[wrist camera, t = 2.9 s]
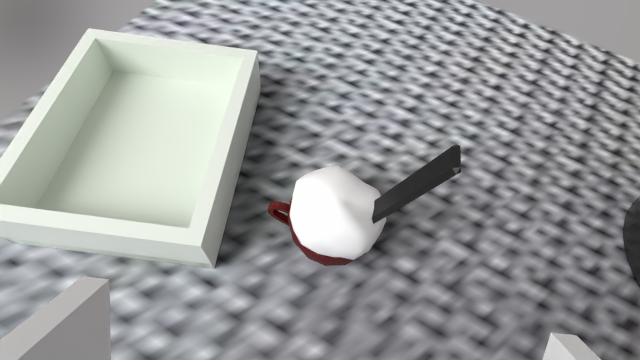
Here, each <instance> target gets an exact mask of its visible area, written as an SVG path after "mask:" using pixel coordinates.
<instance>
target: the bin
mask: <svg viewBox="0 0 640 360" xmlns="http://www.w3.org/2000/svg"><path fill="white" fill-rule="evenodd" d="M260 93H261V83H260V73H259V62H258V52H257V51H254V50H246V49H239V48H231V47H224V46H216V45H209V44H201V43H194V42H186V41H179V40H171V39H164V38H156V37H149V36H141V35H134V34H126V33H119V32H111V31H103V30H97V29H88V30H87V31H86V33H85V34H84V35H83V37H82V38H81V40H80V41H79V43H78V44H77V46H76V47H75V49H74V50H73V52H72V53H71V55H70V56H69V58H68V59H67V61H66V62H65V64H64V65H63V67H62V68H61V70H60V71H59V73H58V74H57V75H56V77H55V78H54V80H53V81H52V83H51V84H50V86H49V87H48V89H47V90H46V92H45V93H44V95H43V96H42V98H41V99H40V101H39V102H38V104H37V105H36V107H35V108H34V110H33V111H32V113H31V114H30V116H29V117H28V118H27V120H26V121H25V123H24V124H23V126H22V127H21V129H20V130H19V132H18V133H17V135H16V136H15V138H14V139H13V141H12V142H11V144H10V145H9V147H8V148H7V150H6V151H5V153H4V154H3V156H2V157H1V158H0V236H1V237H3V238H5V239H7V240H8V241H10V242H12V243H18V244H26V245H34V246H41V247H49V248H57V249H65V250H72V251H80V252H88V253H96V254H103V255H111V256H119V257H127V258H134V259H142V260H150V261H158V262H165V263H173V264H181V265H189V266H197V267H204V268H212V269H214V268H215V264H216V261H217V257H218V253H219V249H220V245H221V242H222V238H223V234H224V230H225V226H226V222H227V219H228V215H229V211H230V207H231V203H232V199H233V196H234V192H235V188H236V184H237V180H238V177H239V173H240V169H241V165H242V161H243V157H244V154H245V150H246V146H247V142H248V138H249V135H250V131H251V127H252V123H253V119H254V115H255V112H256V108H257V104H258V100H259V96H260Z"/></svg>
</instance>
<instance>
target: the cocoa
mask: <svg viewBox="0 0 640 360" xmlns="http://www.w3.org/2000/svg"><path fill="white" fill-rule="evenodd" d="M460 172H461V151H460V146H459V145H454V146H452V147H451V148H449V149H448V150H446V151H445V152H444V153H442V154H441V155H439V156H438V157H436V158H435V159H433V160H432V161H431V162H429V163H428V164H426V165H425V166H423V167H422V168H421V169H419V170H418V171H416V172H415V173H413V174H412V175H410V176H409V177H408V178H406V179H405V180H403V181H402V182H400V183H399V184H398V185H396V186H395V187H393V188H392V189H390V190H389V191H388V192H386V193H385V194H383V195H382V196H381V195H380V193H379V191H378V190H377V189H375V188H374V187H372V186H370V185H368V184H366V183H364V182H363V181H361V180H360V179H359V178H357V177H356V176H355V175H353V174H352V173H350V172H348V171H346V170H344V169H342V168H341V167H339V166H337V165H334V166H330V167H325V168H322V169H319V170H315V171H312V172H309V173H307V174H305V175H304V176H303V177H301V178H300V179H298V180H297V181H296V184H295V189H294V193H293V196H292V199H291V202H290V205H289V204H286V203H282V202H272V203H270V205H269V208H268V212H269V214H270V215H271V216H273V217H274V218H276V219H277V220H279V221H281V222H283V223H285V224H287V225H289V226H290V229H291V233H292V237H293V241H294V242H295V244H296V245H297V246H298V247H299V248H300V249H301V250H302V252H303V253H304V254H305V255H306V256H307V257H308V258H309V259H311V260H313V261H316V262H318V263H320V264H323V265H325V266H328V265H346V264H347V263H349V262H351V261H353V260H355V259H357V258H359V257H361V256H362V255H364V254H366V252H368V251H369V250H370V249H371V247H372V246H373V244H374V243H375V241H376V240H377V238H378V237H379V236H380V234H381V232H382V229H383V227H384V224H385V222H386V216H388V215H390V214H391V213H393V212H395V211H396V210H398V209H400V208H401V207H403V206H405V205H406V204H408V203H410V202H411V201H413V200H415V199H416V198H418V197H420V196H421V195H423V194H425V193H426V192H428V191H430V190H431V189H433V188H435V187H436V186H438V185H440V184H441V183H443V182H445V181H446V180H448V179H450V178H451V177H453V176H455V175H456V174H458V173H460ZM277 210H280V211H283V212H285V213H287V214H288V216H286V215H284V214H282V213H281V212H279V211H277Z"/></svg>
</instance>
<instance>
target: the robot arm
mask: <svg viewBox="0 0 640 360" xmlns="http://www.w3.org/2000/svg"><path fill="white" fill-rule="evenodd" d="M624 245H625V250H626V255H627V258H628V261H629V264H630V267H631V269H632V272H633V274H634V276H635V278H636V280H637V282H638V284H639V286H640V197H639V198H638V199H637V200H636V201H635V202H634V203H633V204H632V206H631V207H630V209H629V211H628V213H627V216H626V219H625V223H624ZM110 359H111V346H110V295H109V279H101V278H92V277H84V276H83V277H81V278H80V279H79V280H78V281H76V282H75V283H74V284H72V285H71V286H70V287H68V288H67V289H66V290H65V291H63V292H62V293H61V294H59V295H58V296H57V297H55V298H54V299H53V300H51V301H50V302H49V303H48V304H46V305H45V306H44V307H42V308H41V309H40V310H38V311H37V312H36V313H35V314H33V315H32V316H31V317H29V318H28V319H27V320H25V321H24V322H23V323H21V324H20V325H19V326H18V327H16V328H15V329H14V330H12V331H11V332H10V333H8V334H7V335H6V336H5V337H3V338H2V339H1V340H0V360H110ZM542 360H601V359H600V358H599V357H598V356H597V355H596V354H595V353H594V352H593V351H592V350H591V349H590V348H589V347H588V346H587V345H586V344H585V343H584V342H583V341H582V340H581V339H580V338H579V337H578V336H576V335H568V334H560V333H551V335H550V338H549V341H548V344H547V347H546V350H545V353H544V356H543V359H542Z"/></svg>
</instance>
